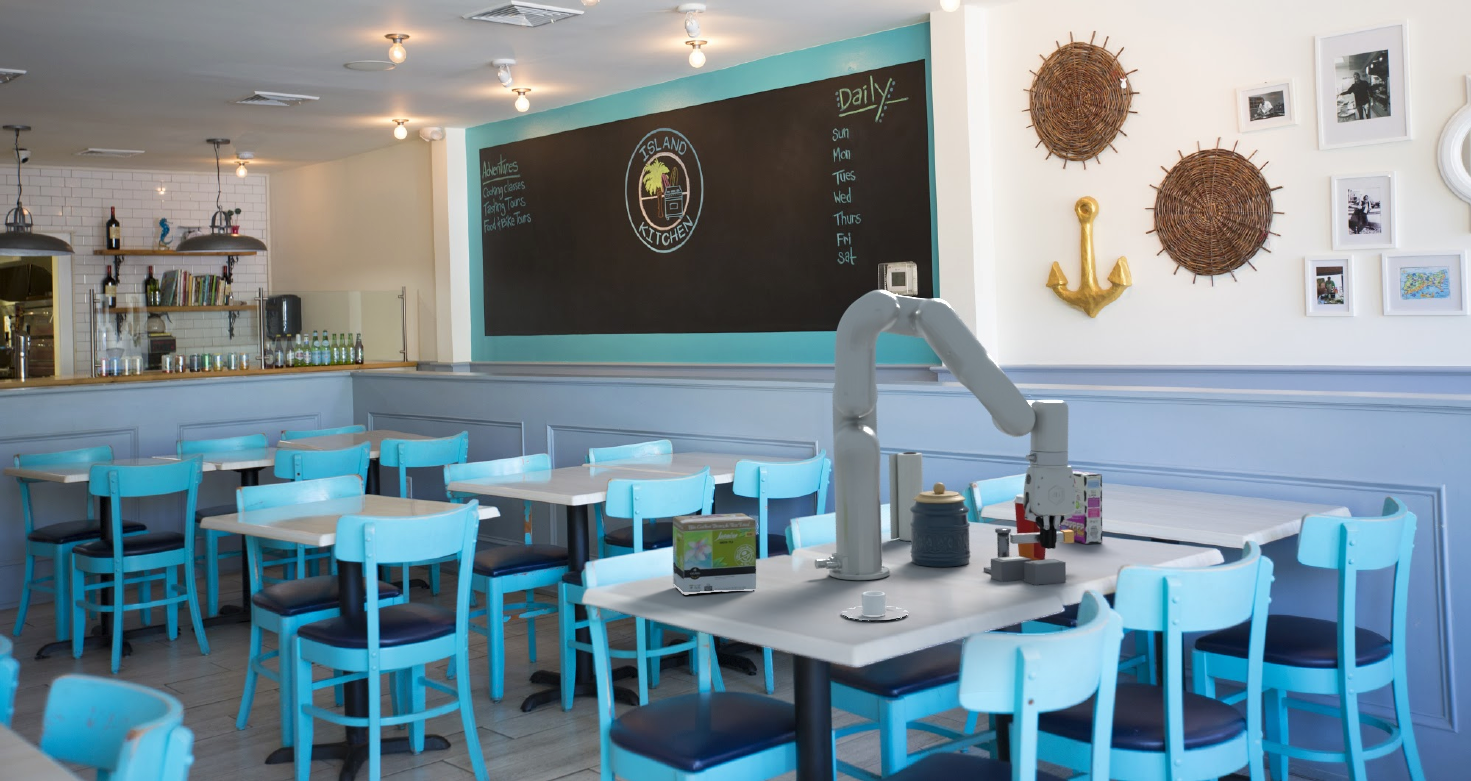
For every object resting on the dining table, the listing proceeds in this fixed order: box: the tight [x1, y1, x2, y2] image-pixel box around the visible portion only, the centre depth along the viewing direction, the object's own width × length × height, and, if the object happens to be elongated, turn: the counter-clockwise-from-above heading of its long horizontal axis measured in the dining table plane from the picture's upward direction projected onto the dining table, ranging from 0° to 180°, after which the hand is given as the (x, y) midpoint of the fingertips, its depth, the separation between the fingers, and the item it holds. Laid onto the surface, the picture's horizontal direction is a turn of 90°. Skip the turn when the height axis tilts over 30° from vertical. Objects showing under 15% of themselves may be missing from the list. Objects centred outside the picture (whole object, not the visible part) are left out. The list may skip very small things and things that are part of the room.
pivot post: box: [983, 527, 1012, 574], centre depth 250 cm, size 6×6×9 cm
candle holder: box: [841, 590, 909, 622], centre depth 215 cm, size 12×12×4 cm
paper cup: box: [1012, 493, 1047, 561], centre depth 265 cm, size 8×8×14 cm
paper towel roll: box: [888, 451, 924, 542], centre depth 293 cm, size 7×6×21 cm
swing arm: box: [1009, 529, 1075, 545], centre depth 250 cm, size 13×2×2 cm, turn 96°
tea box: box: [672, 512, 757, 592], centre depth 240 cm, size 15×10×15 cm, turn 105°
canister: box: [910, 482, 971, 568], centre depth 263 cm, size 13×13×18 cm
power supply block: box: [1023, 558, 1067, 586], centre depth 239 cm, size 7×4×4 cm, turn 109°
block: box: [990, 555, 1031, 583], centre depth 243 cm, size 7×4×4 cm, turn 109°
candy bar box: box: [1059, 470, 1103, 545], centre depth 286 cm, size 11×5×16 cm, turn 17°
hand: (1048, 547), depth 248 cm, fingers closed
